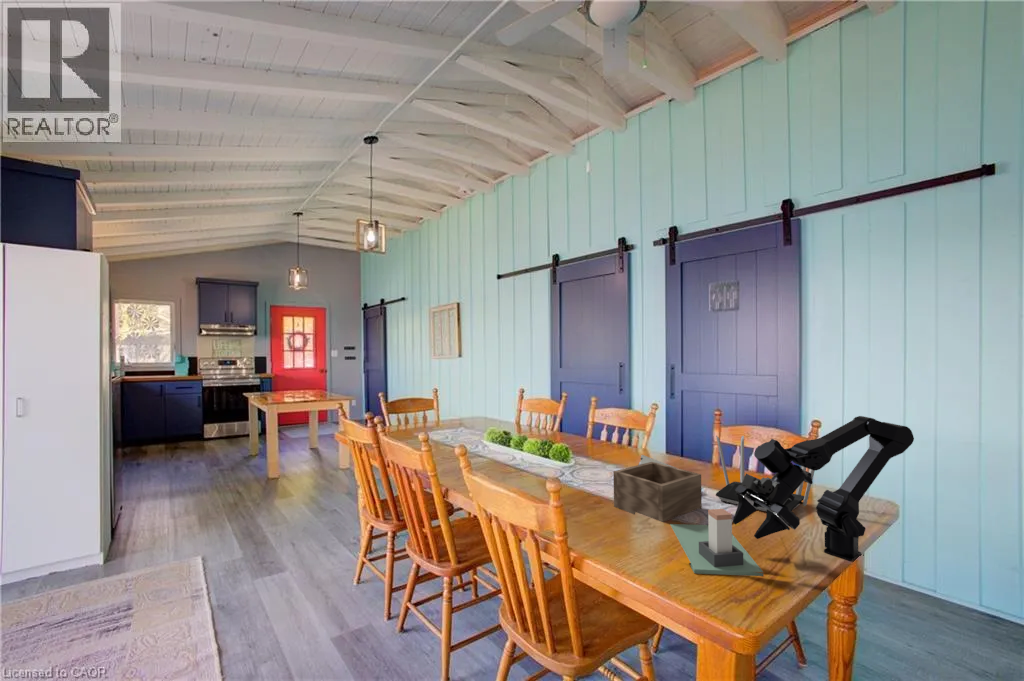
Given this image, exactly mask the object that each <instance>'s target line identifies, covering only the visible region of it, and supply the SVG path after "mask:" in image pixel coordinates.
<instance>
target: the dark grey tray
mask: <svg viewBox="0 0 1024 681" xmlns="http://www.w3.org/2000/svg"><path fill="white" fill-rule="evenodd" d="M699 554H700V555H701V556H703V557H704V558H705V559H706V560H707V561H708V562H709V563H710V564H711V565H713V566H714V567H724V566H736V565H743V552H741V551H740V550H739V549H737V548H736V547H735V546H733V545H732V552H727V553H715V552H713V551H712V550H711V549H710V548H709V541H703V542H699Z"/></svg>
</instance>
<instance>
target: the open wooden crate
mask: <svg viewBox="0 0 1024 681" xmlns="http://www.w3.org/2000/svg"><path fill="white" fill-rule="evenodd" d="M671 466H672V465H671ZM671 466H667V465H663V464H659V463H655V462H649V463H645V464H641V465H634V466H630V467H626V468H622V469H621V468H620V469H617V470H614V471H613V473H612V474H613V507H614V508H617V509H619V510H622V511H624V512H627V513H630V514H632V515H636V513H637V514H640V515H643V516H645V517H648V518H649V519H654V520H655V521H656V520H657V521H658V522H661V523H664V522H668V521H669V520H673V519H675V518H678V517H680V516H683V515H686V514H688V513H691V512H694V511H697V510H703V506H702V505H703V504H702V502H703V501H702V500H703V499H702V498H703V496H702V474H701V473H697V472H693V471H689V470H686V469H682V468H677V467H676V466H673V467H671ZM675 467H676V468H675Z"/></svg>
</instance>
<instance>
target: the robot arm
mask: <svg viewBox="0 0 1024 681" xmlns="http://www.w3.org/2000/svg"><path fill="white" fill-rule="evenodd" d="M867 436H868V440H869V441H868V442H869V443H868V445H869V447H868V449H867V450H866V451H865V452H864V454H863V456H862V457H861V458H860V460H859V461H858V463H857V464H856V465H855V466H854V467H853V469H852V471H851V472H850V473H849V474H848V476H846V478H845V480H844V482H843V483H842V484H841V486H839V488H838V489H837V490H835V491H831V490H829V489H826V490H825V491H824V492H823V494H822V495H821V497H820V498H819V499H818V500H816V502H818V503H817V504H816V506H815V510H816V513H817V514H816V515H817V516H818V517H819V519H820V522H821V524H822V525H823V526H826V531H825V532H824V549H823V553H826V554H828V555H829V554H830V555H832V556H835V557H838V558H841V559H844V560H847V561H853V560H855V559H856V558H858V557H859V556H861V555H862V552H861V551H859V537H864V535H865V532H866V527H865V526H864V525H863V524H862V523H861V522H860V521H859V520H858V519H857V518H858V516H859V514H860V505H859V504H860V501H861V499H862V498H863V496H865V493H866V492H867V491H868V490H869V488H870V487H871V485H872V484H873V483H874V482H875V480H876V479H877V478H878V476H879V474H880V473H881V472H882V470H883V469H884V468H885V467H886V465H887V464H888V462H889V461H890V460H891V459H892V458H894V457H896V456H899V455H901V454H903V453H905V452H906V451H907V450H908V448H909V447H910V446H912V445H913V442H915V441H914V440H915V437H914V434H913V432H912V429H911V428H909V426H907V425H901V424H896V423H890V422H885V421H881V420H878V419H876V418H873V417H868V416H863V415H858V416H855V417H854V418H853V419H852V420H851V421H849V422H847V423H845V424H843V425H841V426H840V427H837V428H835V429H834V430H832V431H830V432H829V433H826V434H824V435H823V436H821V437H819V438H815V439H806V440H803V441H801V442H797V443H795V444H793V445H792V446H791V447H787V448H784V446H783V445H782V444H781V443H780V442H779V440H777V439H773V438H771V439H770V440H769V441H768V442H767V441H766V442H764V443H762V444H760V445H758V446H757V447H756V448H755V450H754V453H753V454H754V457H755V459H757V461H758V462H760V463H761V464H762V465H763V466H764V467H765V468H766V469H767V470H768V471H769V472H770V473H772V474H773V476H772V477H771V478H770V477H764V476H763V477H762V478H761V479H760V478H758V477H755V476H753V475H751V474H749V473H745V477H744V480H743V482H742V485H739V486H738V487H737V488H736V489H735V491H736V492H737V493H736V495H737V496H738V500H739V503H738V505H737V508H736V510H735V514H734V516H733V517H732V524H734V525H737V524H739V523H741V522H742V521H744V520H745V519H747V518H748V517H749V516H751V515H752V514H754V513H755V512H757V510H758V509H756V508H755V507H759V506H762V507H764V508H766V509H767V512H766V516H765V519H764V520H763V521H762V523H761V524H760V526H759V527H758V528H757V530H756V531H755V533H754V536H753V537H754V538H755V539H756V540H759V539H762V538H764V537H767V536H770V535H773V534H776V533H779V532H782V531H787V530H788V531H790V530H791V529H792V530H794V531H795V530H796V529H797V528H798V527H799V526H800V525H801V523H800V518H799V517H798V516H797V514H795V513H794V512H793V510H792V511H791V510H790V509H789V508H788V507H786V506H784V503H785V502H786V501H787V500H788V499H790V500H793V499H794V498H795V497H794V496H793V495H792V494H795V493H796V490H797V488H798V487H799V486H800V485H801V483H802V482H803V481H804V483H807V484H808V483H809V484H811V485H813V484H814V483H813V480H812V478H811V473H810V472H809V471H804V470H803V469H802V466H803V467H806V469H809V470H810V471H811V470H814V472H816V471H819V470H821V469H822V468H824V467H825V466H826V465H827V464H829V463H830V462H831V461H832V460H831V459H832V457H833V456H834V455H835V454H836V453H838V452H840V451H842V450H844V449H845V448H847V447H849V446H851V445H852V444H854V443H857V442H858V441H860V440H862V439H863V438H866V437H867ZM793 463H794V464H793ZM757 494H758V495H757ZM763 503H764V504H763ZM769 506H770V507H769Z"/></svg>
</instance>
